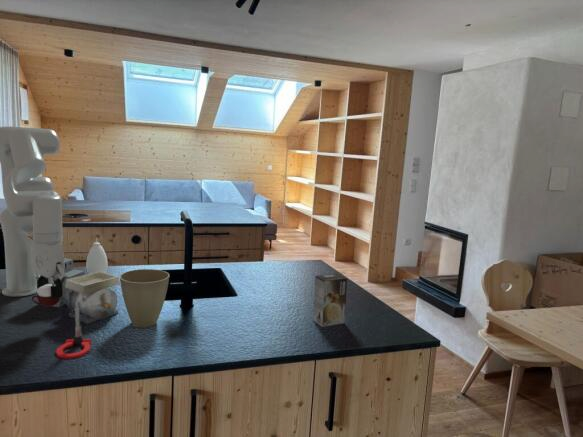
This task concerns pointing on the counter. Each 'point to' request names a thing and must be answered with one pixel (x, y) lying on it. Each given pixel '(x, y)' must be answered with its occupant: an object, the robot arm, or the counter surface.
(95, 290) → the clear storage container
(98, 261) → the sauce bottle
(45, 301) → the cocoa
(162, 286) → the plant pot
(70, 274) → the circuit breaker
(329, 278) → the coffee box
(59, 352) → the tow hook
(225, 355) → the counter surface
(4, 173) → the robot arm
